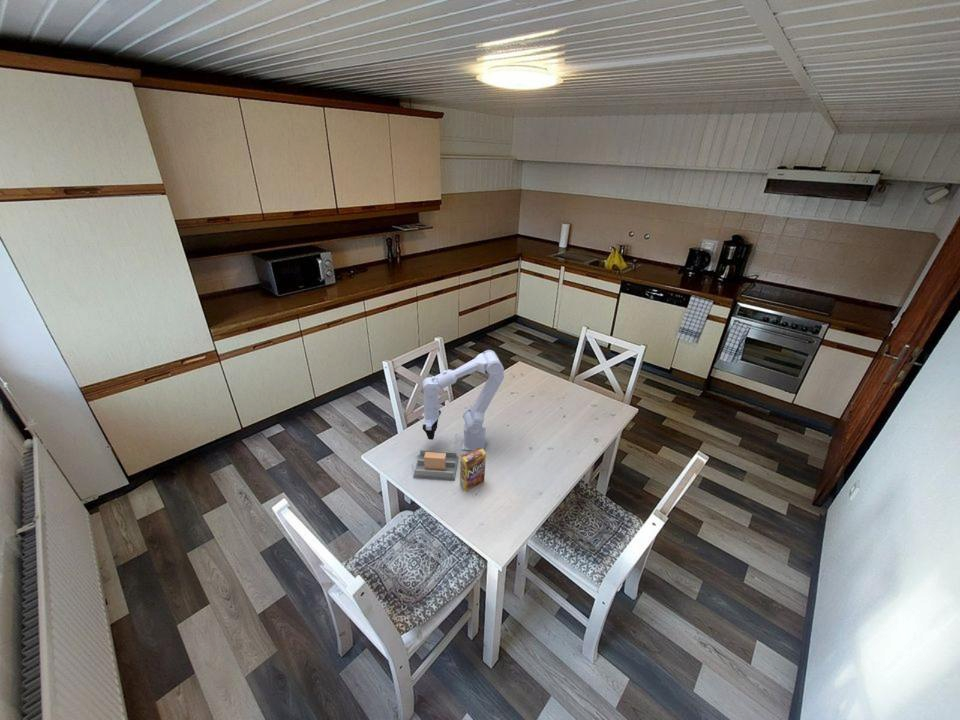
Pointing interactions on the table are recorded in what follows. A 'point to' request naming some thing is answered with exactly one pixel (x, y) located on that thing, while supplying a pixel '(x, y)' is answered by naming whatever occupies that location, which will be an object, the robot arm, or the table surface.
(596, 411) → the table surface
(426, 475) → the rack
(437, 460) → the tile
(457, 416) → the table surface
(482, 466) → the candy box
